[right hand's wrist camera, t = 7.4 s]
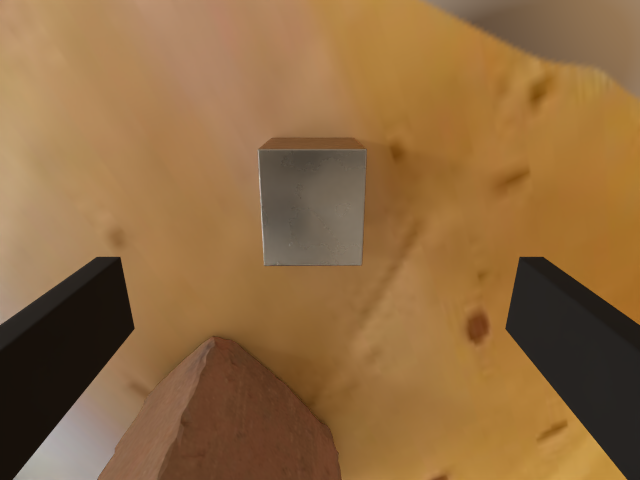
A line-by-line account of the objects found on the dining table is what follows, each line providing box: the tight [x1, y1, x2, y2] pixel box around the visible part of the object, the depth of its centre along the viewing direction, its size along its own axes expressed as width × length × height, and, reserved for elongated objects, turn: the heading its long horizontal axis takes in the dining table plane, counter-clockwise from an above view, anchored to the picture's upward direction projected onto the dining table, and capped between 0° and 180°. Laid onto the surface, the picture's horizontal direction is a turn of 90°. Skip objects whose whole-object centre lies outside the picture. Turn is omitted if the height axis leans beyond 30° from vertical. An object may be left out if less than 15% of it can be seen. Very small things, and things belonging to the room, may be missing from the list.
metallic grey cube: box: [258, 138, 367, 266], centre depth 26 cm, size 6×7×7 cm
